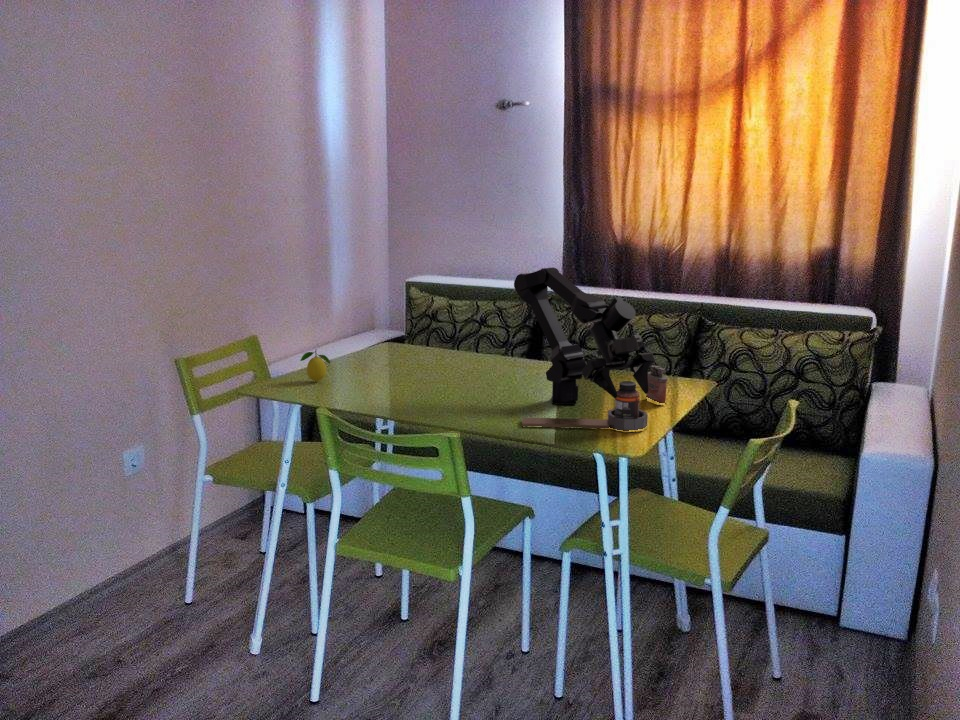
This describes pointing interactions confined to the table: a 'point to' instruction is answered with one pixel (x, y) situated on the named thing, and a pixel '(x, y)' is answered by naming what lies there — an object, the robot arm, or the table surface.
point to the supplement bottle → (627, 400)
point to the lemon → (316, 366)
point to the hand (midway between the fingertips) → (631, 395)
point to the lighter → (657, 384)
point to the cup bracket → (592, 422)
